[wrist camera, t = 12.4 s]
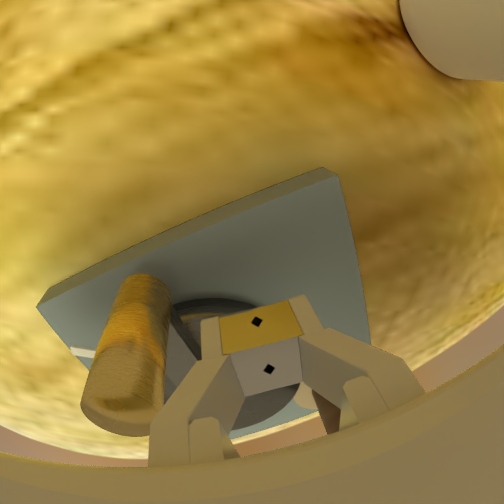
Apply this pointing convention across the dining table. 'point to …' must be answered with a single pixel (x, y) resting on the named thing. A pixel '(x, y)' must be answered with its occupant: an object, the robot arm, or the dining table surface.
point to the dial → (157, 358)
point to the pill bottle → (459, 36)
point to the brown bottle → (327, 413)
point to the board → (235, 269)
